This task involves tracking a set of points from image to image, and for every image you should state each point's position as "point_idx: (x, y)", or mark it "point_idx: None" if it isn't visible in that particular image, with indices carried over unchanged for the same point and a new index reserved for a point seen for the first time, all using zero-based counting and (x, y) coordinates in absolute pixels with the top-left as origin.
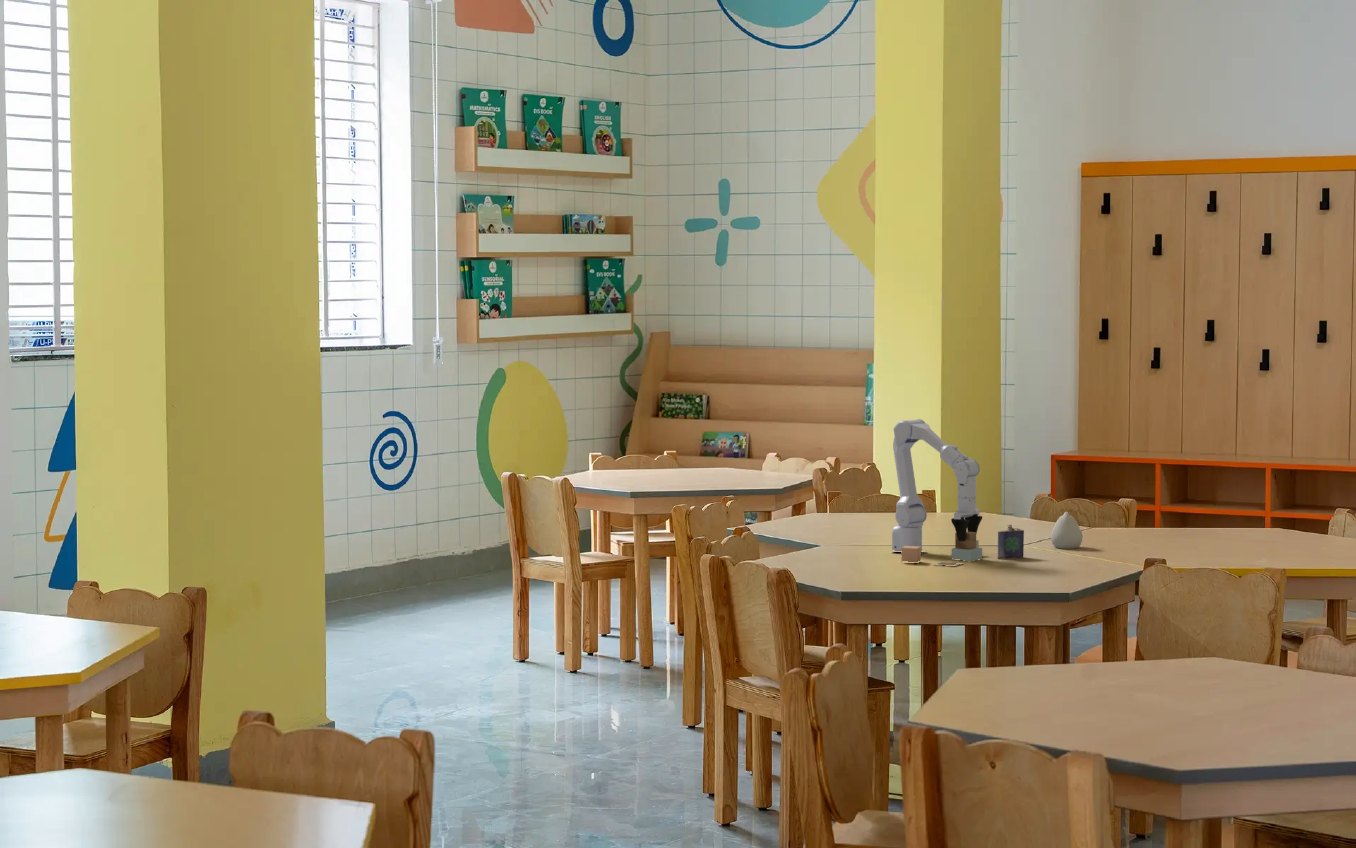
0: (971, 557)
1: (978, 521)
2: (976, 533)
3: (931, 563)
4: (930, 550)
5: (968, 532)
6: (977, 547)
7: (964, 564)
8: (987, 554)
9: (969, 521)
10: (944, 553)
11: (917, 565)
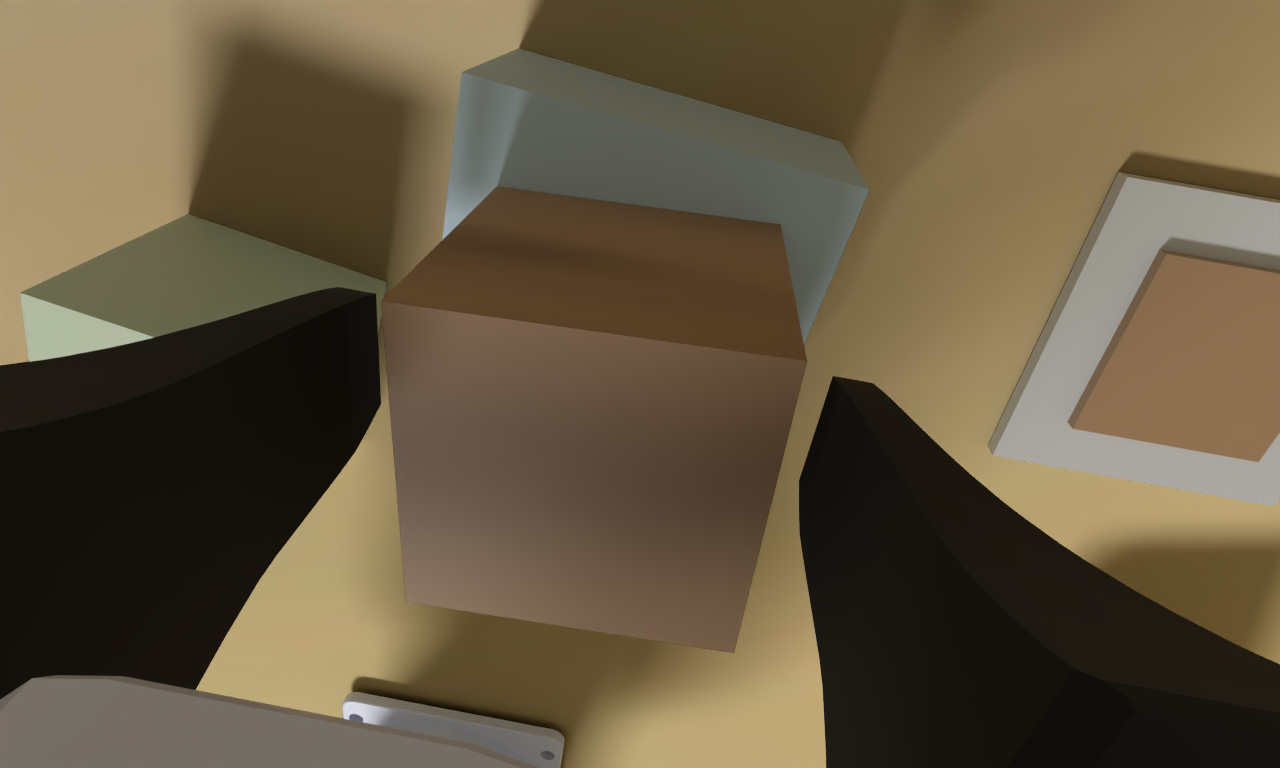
0: (825, 150)
1: (41, 423)
2: (274, 307)
3: (1086, 539)
4: (226, 682)
5: (531, 452)
6: (136, 261)
7: (1117, 160)
8: (37, 124)
9: (139, 666)
10: (310, 563)
11: (1274, 625)
